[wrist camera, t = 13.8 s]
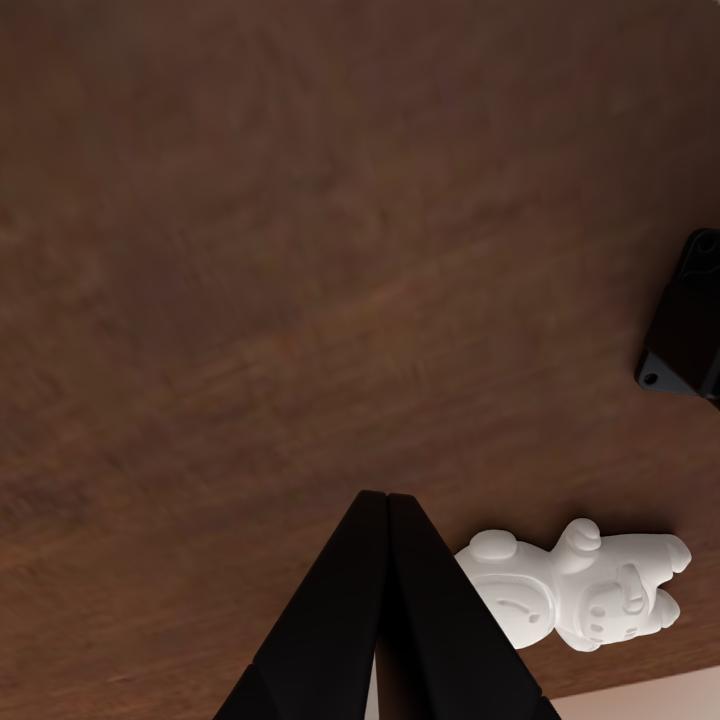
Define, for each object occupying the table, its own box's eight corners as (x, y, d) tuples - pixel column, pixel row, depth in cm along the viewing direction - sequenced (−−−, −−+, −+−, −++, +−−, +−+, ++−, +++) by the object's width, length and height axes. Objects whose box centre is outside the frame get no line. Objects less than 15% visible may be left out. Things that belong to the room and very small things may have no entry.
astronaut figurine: (658, 631, 28) (687, 688, 25) (438, 633, 29) (444, 687, 26) (692, 510, 24) (732, 560, 21) (438, 515, 25) (445, 565, 22)
